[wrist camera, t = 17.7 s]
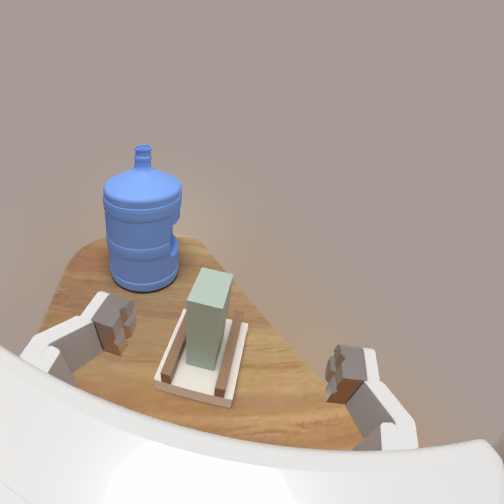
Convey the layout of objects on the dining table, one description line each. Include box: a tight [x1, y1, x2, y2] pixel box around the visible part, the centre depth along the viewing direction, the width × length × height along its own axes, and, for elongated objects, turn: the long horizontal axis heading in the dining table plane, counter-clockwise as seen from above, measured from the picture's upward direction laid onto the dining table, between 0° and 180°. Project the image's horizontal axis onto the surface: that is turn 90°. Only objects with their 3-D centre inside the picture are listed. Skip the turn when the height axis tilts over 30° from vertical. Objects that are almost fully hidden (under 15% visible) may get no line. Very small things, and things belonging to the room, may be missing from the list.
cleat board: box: [154, 309, 248, 408], centre depth 46 cm, size 12×16×6 cm
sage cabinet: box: [186, 267, 233, 371], centre depth 43 cm, size 4×8×14 cm, turn 172°
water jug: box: [103, 145, 182, 292], centre depth 57 cm, size 16×16×28 cm
